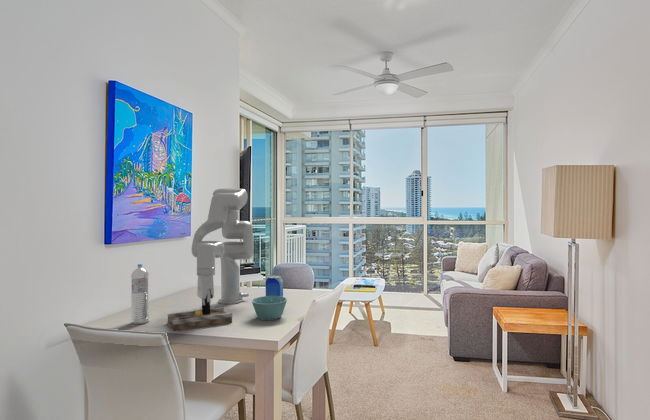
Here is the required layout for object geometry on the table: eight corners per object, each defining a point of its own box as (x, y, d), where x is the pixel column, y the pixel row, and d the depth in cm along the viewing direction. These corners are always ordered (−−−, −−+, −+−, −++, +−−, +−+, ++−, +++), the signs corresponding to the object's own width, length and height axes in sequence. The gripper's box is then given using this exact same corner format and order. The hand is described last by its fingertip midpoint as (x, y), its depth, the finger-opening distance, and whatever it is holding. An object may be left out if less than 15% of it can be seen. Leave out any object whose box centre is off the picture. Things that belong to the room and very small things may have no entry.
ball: (192, 315, 178) (198, 319, 179) (194, 315, 176) (200, 319, 177) (196, 308, 180) (202, 312, 181) (198, 308, 177) (204, 312, 178)
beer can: (286, 308, 205) (286, 275, 205) (277, 312, 197) (277, 278, 197) (271, 306, 208) (271, 274, 208) (262, 310, 201) (262, 277, 201)
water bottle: (134, 320, 183) (134, 263, 183) (150, 320, 184) (150, 263, 184) (128, 324, 176) (128, 265, 176) (145, 324, 177) (145, 265, 177)
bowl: (272, 324, 177) (271, 304, 177) (244, 319, 185) (244, 300, 185) (294, 316, 190) (294, 298, 190) (267, 311, 198) (267, 294, 198)
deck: (223, 316, 190) (223, 307, 190) (232, 322, 179) (232, 313, 179) (167, 323, 178) (167, 313, 178) (173, 330, 167) (173, 320, 167)
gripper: (192, 270, 185) (193, 311, 185) (201, 274, 172) (201, 319, 172) (209, 268, 188) (210, 309, 188) (219, 273, 176) (219, 316, 176)
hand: (206, 314), depth 180 cm, fingers closed
